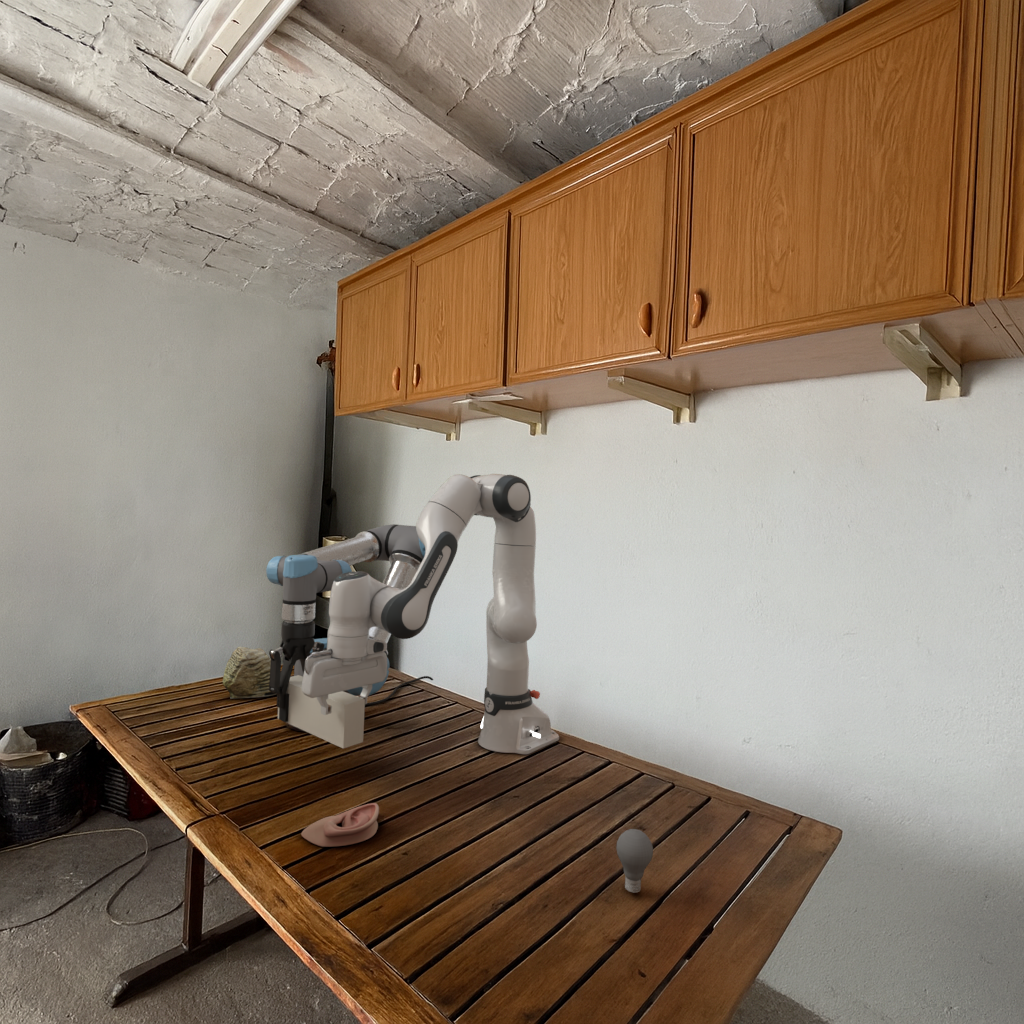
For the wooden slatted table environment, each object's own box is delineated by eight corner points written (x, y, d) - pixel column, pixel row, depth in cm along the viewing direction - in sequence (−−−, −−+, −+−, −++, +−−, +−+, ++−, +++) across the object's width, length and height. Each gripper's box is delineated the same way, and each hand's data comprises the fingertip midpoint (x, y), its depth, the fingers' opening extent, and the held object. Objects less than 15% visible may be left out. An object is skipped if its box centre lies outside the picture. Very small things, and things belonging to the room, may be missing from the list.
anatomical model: (293, 820, 116) (324, 792, 127) (292, 842, 116) (323, 812, 127) (360, 831, 113) (386, 801, 124) (359, 853, 113) (385, 821, 124)
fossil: (218, 695, 195) (220, 647, 195) (278, 685, 208) (279, 640, 207) (228, 703, 189) (230, 653, 188) (289, 692, 201) (290, 645, 201)
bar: (277, 718, 151) (278, 679, 151) (297, 713, 155) (298, 675, 155) (343, 748, 135) (345, 704, 135) (363, 742, 139) (365, 699, 139)
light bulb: (610, 879, 108) (613, 822, 108) (644, 879, 109) (647, 822, 109) (619, 902, 102) (622, 840, 102) (655, 901, 103) (658, 840, 103)
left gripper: (271, 628, 141) (267, 731, 141) (340, 618, 155) (336, 712, 156) (253, 622, 146) (250, 723, 146) (322, 613, 160) (318, 705, 160)
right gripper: (315, 656, 128) (311, 724, 129) (392, 642, 144) (389, 702, 144) (297, 650, 132) (293, 716, 132) (375, 637, 148) (371, 696, 148)
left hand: (294, 717), depth 151 cm, fingers closed on bar, 5 cm apart
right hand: (344, 709), depth 139 cm, fingers open, 8 cm apart
